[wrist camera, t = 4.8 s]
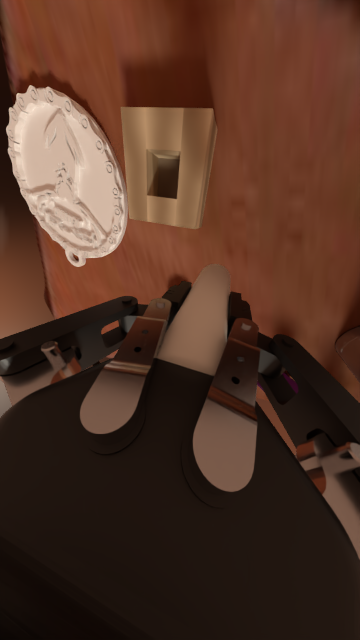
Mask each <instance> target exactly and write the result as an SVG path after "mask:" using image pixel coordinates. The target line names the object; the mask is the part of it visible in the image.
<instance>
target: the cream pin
mask: <svg viewBox="0 0 360 640" xmlns="http://www.w3.org/2000/svg"><path fill="white" fill-rule="evenodd" d="M229 295H230V274H229V272H228V270H227V269H226V268H225V267H223V266H221V265H218V264H211V265H208V266H206V267H205V268H204V269H203V270H202V271H201V273H200V274H199V276H198V278H197V280H196V281H195V283H194V285H193V286H192V288H191V290H190V292H189V293H188V295H187V297H186V299H185V300H184V302H183V304H182V306H181V307H180V309H179V311H178V312H177V314H176V316H175V318H174V319H173V321H172V323H171V325H170V326H169V328H168V330H167V332H166V333H165V335H164V338H163V341H162V342H161V343H160V345H161V346H160V348H159V350H158V354H157V357H156V358H158V359H161V360H164V361H168V362H171V363H174V364H177V365H180V366H183V367H187V368H190V369H193V370H196V371H199V372H202V373H205V374H209V375H212V376H214V375H215V372H216V369H217V367H218V364H219V361H220V359H221V356H222V353H223V350H224V347H225V345H226V342H227V329H228V309H229Z"/></svg>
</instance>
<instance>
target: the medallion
mask: <svg viewBox="0 0 360 640" xmlns="http://www.w3.org/2000/svg"><path fill="white" fill-rule="evenodd" d="M16 99H17V101H16V103H15V105H14V106H13V108H14V109H13V108H9V116H10V122H9V125H8V126H7V128H6V131H7V134H8V136H9V138H8V139H9V146H10V147H12V148H10V147H9V148H8V153H9V155H10V158H11V161H12V164H13V174H14V176H15V177H16V178H17V179H18V180H17V181H18V184H19V186H20V188H21V189H20V191H21V194H22V196H23V197H24V198H25V200H26V201H27V203H28V206H29V209H30V211H31V213H32V214H34V215H36V216H35V217H36V218H37V220H38V221H39V222H40V226H41V227H42V228H43V229H44V230H46V231H47V232H48V233H49V235H50V236H51V238H52V239H53V240H54V241H56V242H58V243H59V244H60V245H61V246H63V248H64V249H65V250H66V251H65V253H66V256H67V258H68V260H69V261H70V262H71V263H72V264H73V265H74V266H77V267H80V266H83V265H84V264H85V262H86V259H85V258H98V257H103V256H105V255H107V254H109V253H111V252H112V251H114V250H115V249H116V248H117V246H118V245H119V244H120V242H121V240H122V238H123V236H124V233H125V229H126V225H127V215H128V205H127V193H126V188H125V182H124V178H123V175H122V172H121V168H120V165H119V162H118V160H117V158H116V155H115V153H114V150H113V148H112V146H111V144H110V143H109V141H108V139H107V137H106V135H105V134H104V132H103V131H102V129H101V128H100V127H99V125H98V124H97V122H96V121H95V120H94V118H93V117H92V116H91V115H90V114H89V113H88V112H87V111H86V110H85V109H84V108H83V107H82V106H81V105H79V104H78V103H76V102H75V101H74V100H72V99H71V98H69V97H68V96H67V95H65V94H64V93H61V92H59V91H56V90H54V89H51V88H50V87H46V88H35V87H33V86H32V85H30V86H29V88H28V90H27V92H26V93H24V94H21V93H17V95H16ZM72 252H73V253H74V254H75V255H76V256H77V255H78V257H79V262H78V261H77V260H75V258H74V257H73V254H72Z"/></svg>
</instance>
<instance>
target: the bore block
mask: <svg viewBox="0 0 360 640" xmlns="http://www.w3.org/2000/svg"><path fill="white" fill-rule="evenodd" d="M121 117H122V130H123V142H124V155H125V168H126V181H127V194H128V206H129V219H135V220H141V221H147V222H154V223H160V224H166V225H172V226H179V227H185V228H191V229H197V228H200V227H201V226H202V220H203V213H204V207H205V201H206V195H207V189H208V183H209V177H210V171H211V165H212V159H213V153H214V147H215V141H216V135H217V126H216V121H215V116H214V112H213V108H157V107H121Z"/></svg>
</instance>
